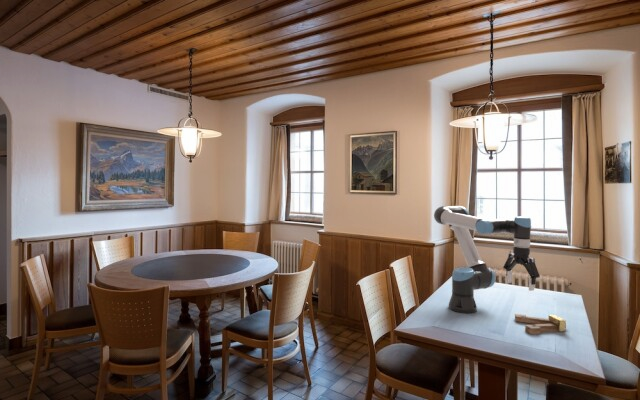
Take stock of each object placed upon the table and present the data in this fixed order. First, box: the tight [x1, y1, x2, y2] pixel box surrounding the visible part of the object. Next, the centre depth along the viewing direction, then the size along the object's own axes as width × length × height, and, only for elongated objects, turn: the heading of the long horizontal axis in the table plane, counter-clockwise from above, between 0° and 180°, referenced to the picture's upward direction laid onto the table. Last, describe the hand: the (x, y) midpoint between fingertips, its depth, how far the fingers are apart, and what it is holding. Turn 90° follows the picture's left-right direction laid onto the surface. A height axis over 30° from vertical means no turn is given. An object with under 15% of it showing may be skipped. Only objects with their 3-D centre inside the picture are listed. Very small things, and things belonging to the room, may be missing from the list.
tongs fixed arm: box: [524, 323, 559, 335], centre depth 174 cm, size 4×18×3 cm, turn 97°
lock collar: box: [548, 314, 567, 332], centre depth 177 cm, size 7×3×5 cm, turn 7°
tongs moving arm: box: [514, 313, 567, 330], centre depth 183 cm, size 6×22×3 cm, turn 67°
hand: (520, 286), depth 187 cm, fingers open, 13 cm apart
